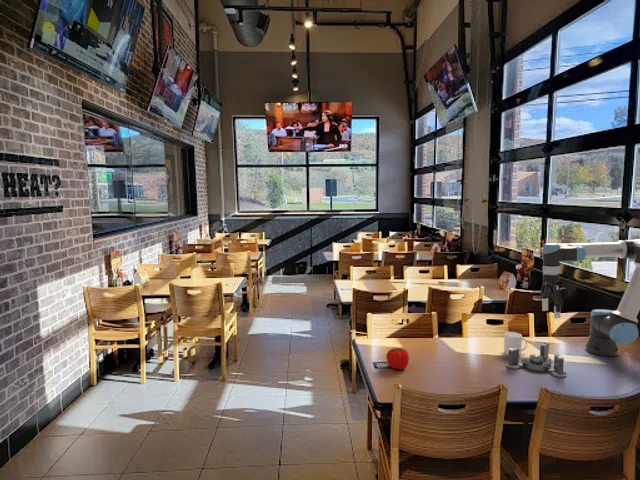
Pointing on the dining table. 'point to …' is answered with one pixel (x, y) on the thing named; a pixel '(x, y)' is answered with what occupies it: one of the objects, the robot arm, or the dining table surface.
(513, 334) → the mug
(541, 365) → the tribrach
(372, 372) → the dining table surface
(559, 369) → the knob
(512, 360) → the dark grey angled finger
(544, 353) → the knob
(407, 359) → the tomato
